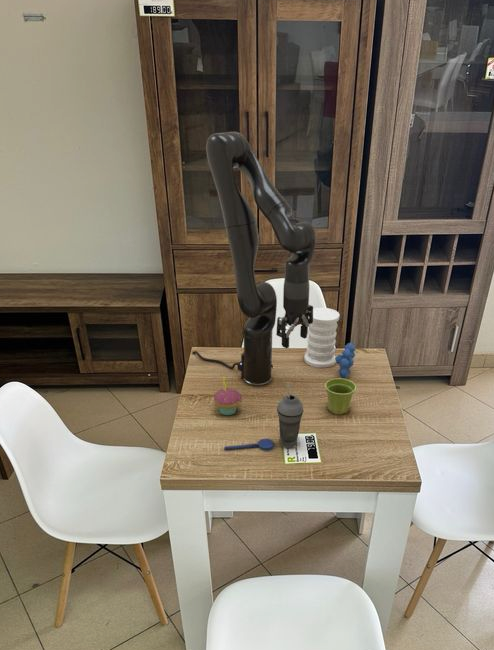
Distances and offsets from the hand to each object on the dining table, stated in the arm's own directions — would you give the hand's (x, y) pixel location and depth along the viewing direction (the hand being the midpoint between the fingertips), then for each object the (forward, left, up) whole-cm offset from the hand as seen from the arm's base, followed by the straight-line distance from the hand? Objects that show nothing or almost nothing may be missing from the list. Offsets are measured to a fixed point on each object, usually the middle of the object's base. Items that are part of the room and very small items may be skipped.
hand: (294, 342), depth 168 cm
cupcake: (-10, -21, -18) cm, 30 cm away
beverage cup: (+14, -24, -18) cm, 34 cm away
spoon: (+6, -32, -18) cm, 38 cm away
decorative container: (-4, +25, -18) cm, 31 cm away
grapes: (+8, +20, -18) cm, 28 cm away
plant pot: (+17, 0, -18) cm, 25 cm away
